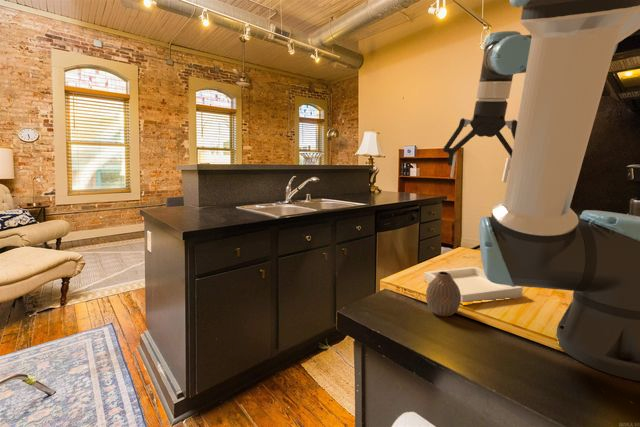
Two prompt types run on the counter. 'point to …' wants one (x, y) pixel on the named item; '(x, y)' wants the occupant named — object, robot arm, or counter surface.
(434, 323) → the counter surface
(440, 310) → the vase
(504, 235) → the robot arm
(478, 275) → the tray
